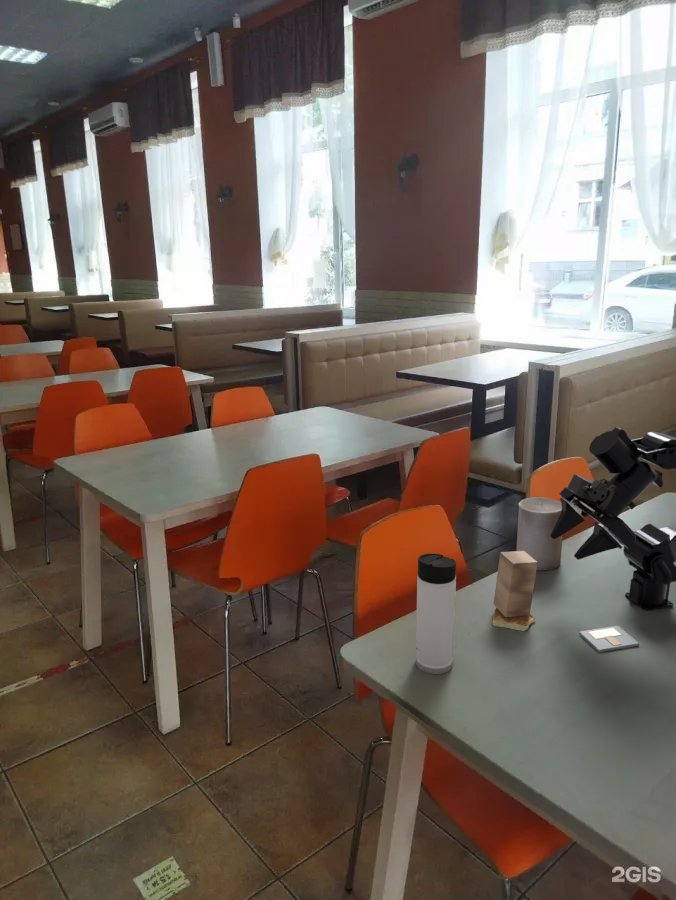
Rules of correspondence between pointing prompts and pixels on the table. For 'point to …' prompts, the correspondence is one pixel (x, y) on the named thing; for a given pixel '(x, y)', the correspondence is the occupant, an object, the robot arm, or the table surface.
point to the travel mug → (435, 613)
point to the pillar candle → (539, 531)
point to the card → (608, 638)
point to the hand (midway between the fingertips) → (563, 547)
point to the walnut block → (515, 583)
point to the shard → (512, 621)
